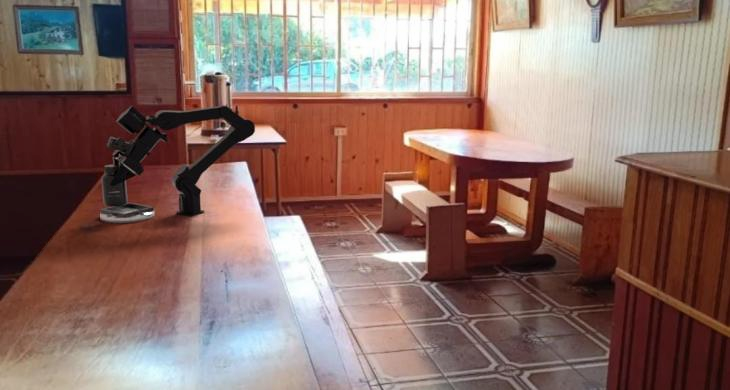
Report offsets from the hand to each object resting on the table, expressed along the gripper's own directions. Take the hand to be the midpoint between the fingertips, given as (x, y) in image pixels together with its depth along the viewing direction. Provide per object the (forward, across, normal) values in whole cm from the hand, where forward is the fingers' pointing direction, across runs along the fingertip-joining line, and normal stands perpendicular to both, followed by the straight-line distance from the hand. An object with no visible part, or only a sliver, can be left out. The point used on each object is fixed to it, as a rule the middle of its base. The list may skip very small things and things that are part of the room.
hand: (109, 183), depth 188 cm
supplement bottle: (+4, 0, +6) cm, 7 cm away
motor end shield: (+5, -4, +12) cm, 14 cm away
